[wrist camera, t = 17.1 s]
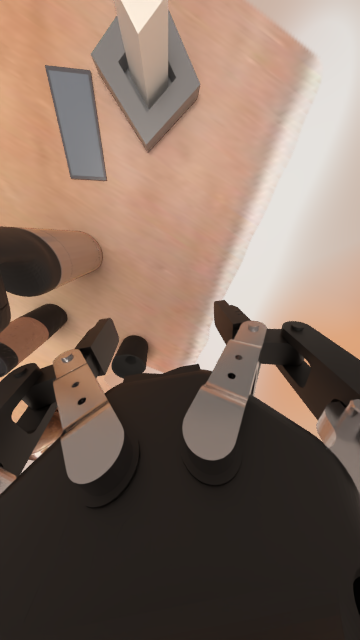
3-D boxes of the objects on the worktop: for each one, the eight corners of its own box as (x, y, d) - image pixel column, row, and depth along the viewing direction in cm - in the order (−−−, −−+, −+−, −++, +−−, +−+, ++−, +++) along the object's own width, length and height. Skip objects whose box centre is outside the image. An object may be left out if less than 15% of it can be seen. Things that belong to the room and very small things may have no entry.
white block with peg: (149, 109, 28) (134, 11, 16) (131, 77, 26) (99, -61, 14) (168, 87, 27) (168, -37, 15) (150, 52, 25) (134, -122, 13)
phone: (73, 179, 33) (70, 178, 32) (48, 70, 26) (44, 64, 25) (107, 181, 33) (106, 180, 32) (92, 75, 27) (89, 70, 26)
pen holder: (116, 337, 51) (105, 358, 42) (144, 331, 51) (139, 351, 42) (127, 358, 55) (119, 381, 47) (152, 353, 55) (149, 375, 46)
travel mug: (74, 319, 47) (17, 368, 29) (55, 330, 48) (-10, 384, 31) (52, 298, 43) (-26, 340, 26) (33, 310, 45) (-55, 359, 27)
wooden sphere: (85, 417, 69) (66, 459, 56) (61, 428, 72) (37, 472, 59) (57, 399, 63) (27, 442, 49) (31, 412, 65) (-4, 457, 52)
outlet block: (147, 152, 31) (146, 144, 29) (98, 72, 26) (90, 54, 24) (197, 98, 28) (200, 84, 26) (152, -3, 23) (150, -34, 21)
